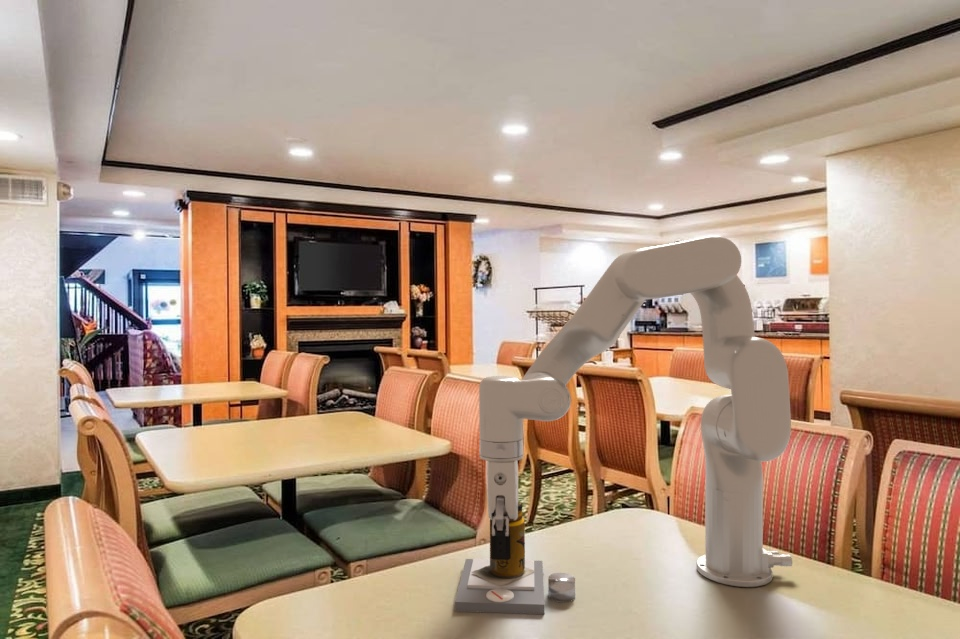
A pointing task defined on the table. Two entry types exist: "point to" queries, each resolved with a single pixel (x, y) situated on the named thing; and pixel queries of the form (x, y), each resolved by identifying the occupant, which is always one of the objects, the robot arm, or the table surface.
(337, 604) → the table surface
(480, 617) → the table surface
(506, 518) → the robot arm
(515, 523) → the condiment
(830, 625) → the table surface
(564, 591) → the knob
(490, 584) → the scale
